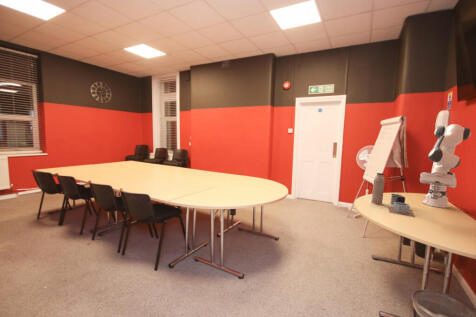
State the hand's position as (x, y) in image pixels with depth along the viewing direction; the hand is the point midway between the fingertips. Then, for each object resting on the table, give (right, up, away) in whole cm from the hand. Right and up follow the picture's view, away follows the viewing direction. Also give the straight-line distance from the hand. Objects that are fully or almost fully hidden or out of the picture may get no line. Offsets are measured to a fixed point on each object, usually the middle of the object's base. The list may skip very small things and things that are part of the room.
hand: (436, 189), depth 162 cm
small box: (-8, -20, +29) cm, 36 cm away
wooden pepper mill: (-22, -19, +34) cm, 45 cm away
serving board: (-16, -21, +14) cm, 30 cm away
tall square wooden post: (0, -7, +1) cm, 7 cm away
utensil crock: (-16, -20, +14) cm, 29 cm away
